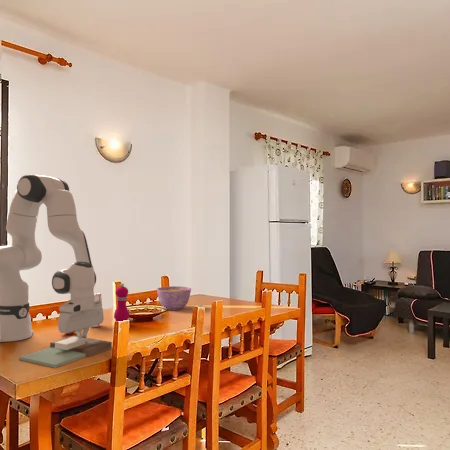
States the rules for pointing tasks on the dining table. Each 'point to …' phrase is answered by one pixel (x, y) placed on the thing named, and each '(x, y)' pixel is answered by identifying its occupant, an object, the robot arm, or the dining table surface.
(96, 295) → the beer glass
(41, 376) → the dining table surface
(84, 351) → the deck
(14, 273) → the robot arm
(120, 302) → the pepper mill
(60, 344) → the white rectangular block
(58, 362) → the mat
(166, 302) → the bowl of food
